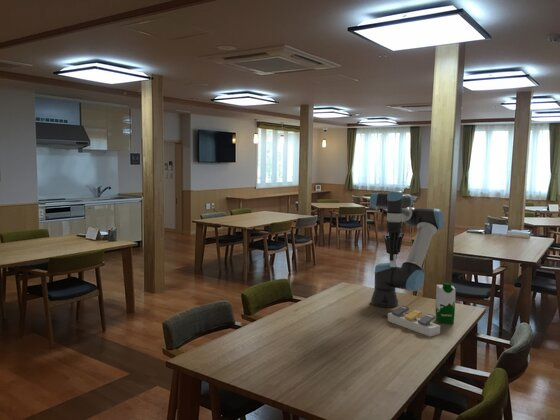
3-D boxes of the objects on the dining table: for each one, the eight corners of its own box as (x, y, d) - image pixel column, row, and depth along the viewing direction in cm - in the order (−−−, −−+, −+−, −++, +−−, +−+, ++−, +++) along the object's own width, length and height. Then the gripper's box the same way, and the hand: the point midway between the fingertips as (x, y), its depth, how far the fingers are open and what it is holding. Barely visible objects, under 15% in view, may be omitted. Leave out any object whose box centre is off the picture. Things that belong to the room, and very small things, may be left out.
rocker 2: (415, 311, 231) (415, 309, 231) (422, 313, 228) (421, 311, 227) (404, 318, 227) (404, 316, 226) (411, 320, 223) (410, 318, 223)
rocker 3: (428, 316, 224) (428, 313, 224) (435, 318, 221) (435, 315, 221) (418, 323, 220) (417, 320, 220) (424, 325, 217) (424, 322, 217)
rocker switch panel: (385, 314, 247) (385, 305, 246) (439, 333, 219) (440, 323, 218) (376, 316, 243) (376, 307, 242) (430, 336, 215) (430, 325, 214)
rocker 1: (402, 307, 237) (402, 305, 237) (409, 309, 234) (408, 307, 234) (392, 314, 233) (391, 311, 233) (398, 316, 230) (398, 313, 230)
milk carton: (437, 323, 233) (439, 284, 231) (433, 318, 241) (435, 280, 240) (455, 324, 232) (457, 285, 230) (451, 318, 241) (452, 280, 239)
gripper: (397, 219, 246) (395, 264, 248) (379, 221, 238) (378, 266, 241) (408, 221, 239) (407, 266, 242) (390, 222, 232) (389, 269, 234)
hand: (392, 266), depth 241 cm, fingers closed
